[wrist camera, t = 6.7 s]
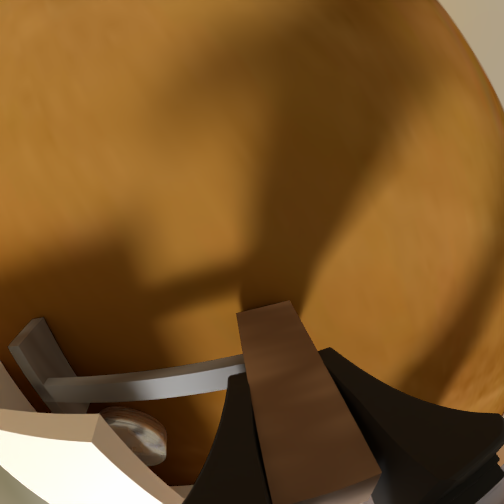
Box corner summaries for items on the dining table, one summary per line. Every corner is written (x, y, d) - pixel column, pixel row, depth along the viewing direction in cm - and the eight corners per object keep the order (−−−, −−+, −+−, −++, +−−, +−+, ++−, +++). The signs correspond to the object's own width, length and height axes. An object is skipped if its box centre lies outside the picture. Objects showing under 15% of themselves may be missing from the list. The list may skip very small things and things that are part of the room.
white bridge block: (122, 345, 13) (91, 442, 7) (218, 486, 18) (226, 540, 12) (-7, 360, 11) (-46, 416, 6) (109, 488, 17) (104, 534, 11)
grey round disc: (148, 401, 14) (144, 425, 12) (178, 443, 16) (178, 464, 14) (84, 405, 14) (77, 426, 12) (119, 446, 15) (116, 466, 13)
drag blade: (283, 265, 12) (396, 437, 4) (299, 366, 14) (361, 512, 5) (32, 319, 11) (-54, 431, 3) (80, 398, 13) (40, 512, 5)
